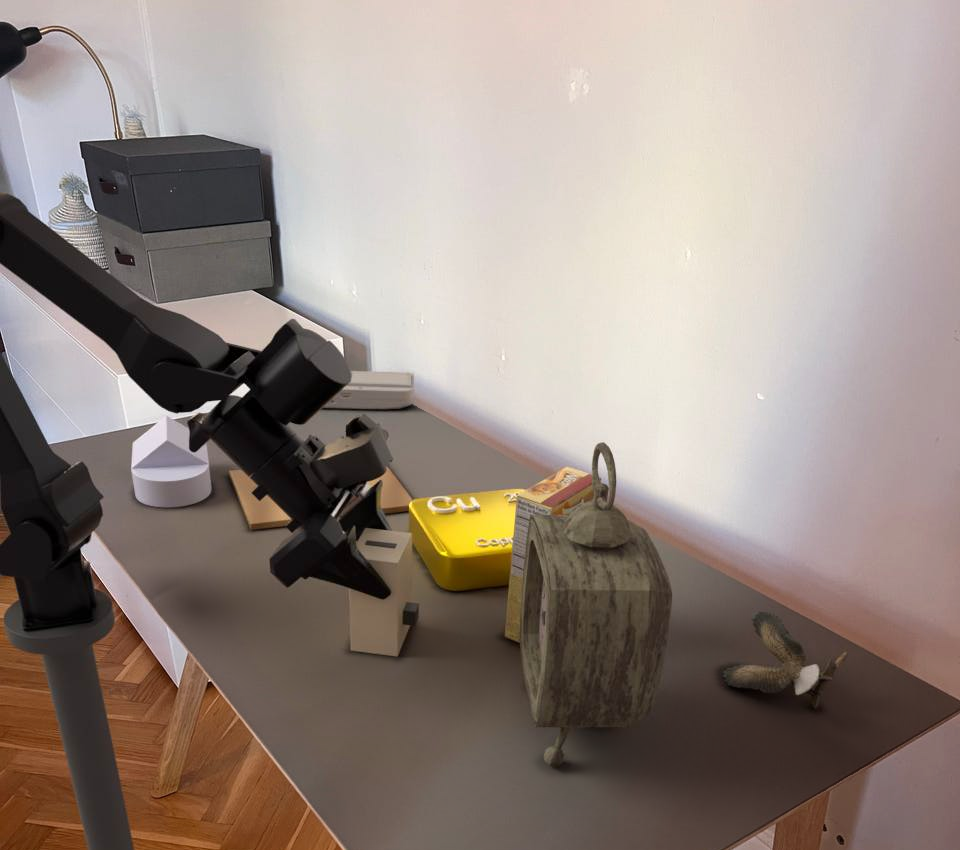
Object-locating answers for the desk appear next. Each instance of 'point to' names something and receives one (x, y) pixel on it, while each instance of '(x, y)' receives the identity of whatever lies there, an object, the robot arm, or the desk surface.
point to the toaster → (388, 619)
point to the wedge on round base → (169, 467)
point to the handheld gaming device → (375, 391)
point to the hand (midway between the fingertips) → (395, 579)
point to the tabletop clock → (592, 616)
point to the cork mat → (273, 516)
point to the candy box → (540, 499)
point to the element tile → (465, 537)
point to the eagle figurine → (791, 660)
